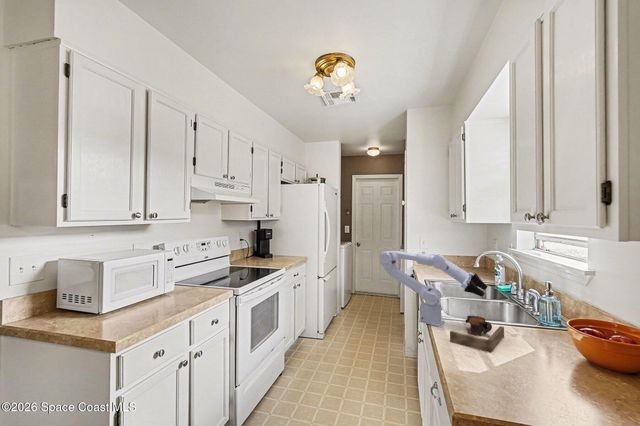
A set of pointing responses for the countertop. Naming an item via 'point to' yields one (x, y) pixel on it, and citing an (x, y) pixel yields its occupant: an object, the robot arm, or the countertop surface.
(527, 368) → the countertop surface
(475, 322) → the pottery mug
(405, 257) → the robot arm
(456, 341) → the walnut corner walls
